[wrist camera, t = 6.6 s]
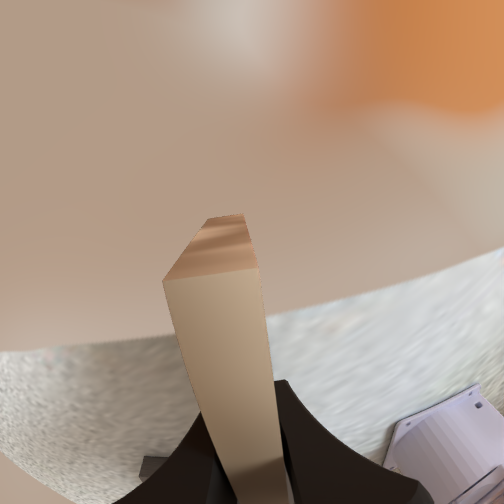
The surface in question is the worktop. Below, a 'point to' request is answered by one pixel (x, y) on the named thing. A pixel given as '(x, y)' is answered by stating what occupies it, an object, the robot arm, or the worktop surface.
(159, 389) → the worktop surface
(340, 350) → the worktop surface
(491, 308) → the worktop surface
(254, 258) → the birch sheet
